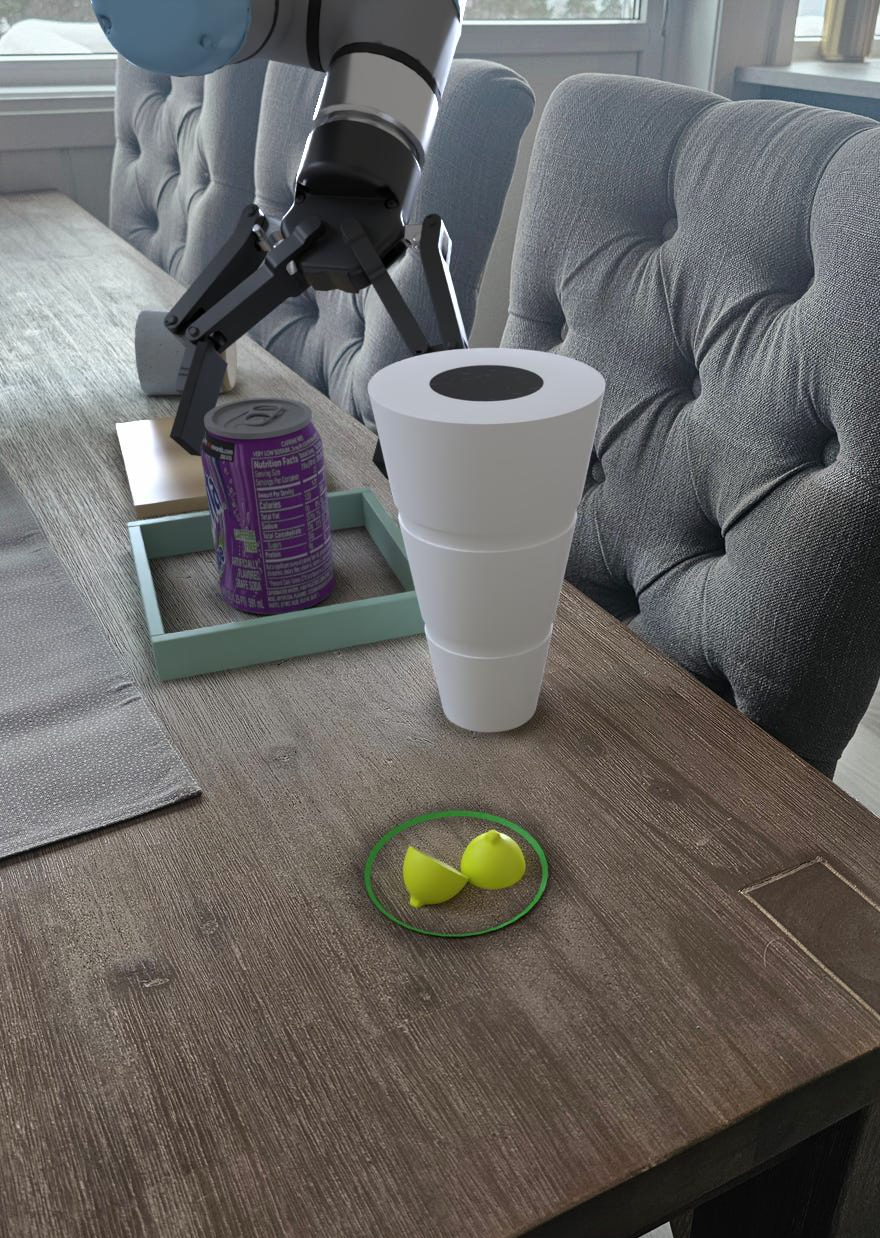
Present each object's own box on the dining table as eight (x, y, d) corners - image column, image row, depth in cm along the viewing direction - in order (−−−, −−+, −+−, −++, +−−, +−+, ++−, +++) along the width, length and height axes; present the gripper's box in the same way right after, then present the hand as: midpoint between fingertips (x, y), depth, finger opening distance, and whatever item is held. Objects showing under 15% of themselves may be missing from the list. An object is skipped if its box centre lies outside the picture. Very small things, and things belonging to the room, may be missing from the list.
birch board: (328, 496, 85) (327, 478, 84) (138, 525, 81) (134, 505, 80) (282, 419, 99) (280, 403, 98) (118, 440, 95) (115, 423, 94)
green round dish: (465, 978, 44) (463, 926, 43) (326, 887, 49) (321, 838, 47) (584, 871, 50) (586, 822, 48) (449, 798, 54) (448, 751, 52)
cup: (365, 684, 63) (339, 364, 53) (539, 645, 66) (544, 337, 56) (429, 794, 54) (412, 438, 45) (625, 744, 58) (649, 402, 48)
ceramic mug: (232, 405, 102) (221, 319, 98) (141, 407, 102) (126, 321, 98) (246, 371, 111) (237, 291, 107) (163, 373, 111) (150, 293, 107)
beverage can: (248, 567, 75) (224, 391, 68) (350, 576, 74) (335, 398, 67) (205, 619, 69) (174, 431, 63) (315, 629, 68) (295, 440, 61)
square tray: (160, 689, 62) (151, 643, 61) (134, 562, 76) (126, 522, 74) (444, 635, 67) (443, 591, 65) (372, 525, 80) (369, 486, 79)
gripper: (563, 199, 72) (490, 506, 68) (222, 184, 79) (139, 461, 75) (541, 118, 65) (459, 455, 61) (169, 108, 72) (74, 410, 68)
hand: (282, 459), depth 68 cm, fingers open, 13 cm apart
